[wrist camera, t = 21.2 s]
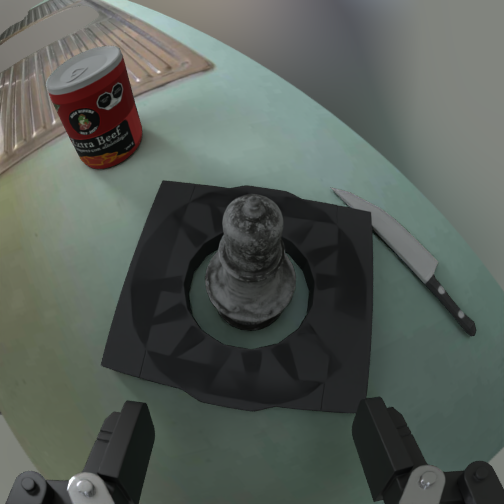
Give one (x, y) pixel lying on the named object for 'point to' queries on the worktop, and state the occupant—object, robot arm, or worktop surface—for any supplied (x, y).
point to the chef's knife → (408, 253)
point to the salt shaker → (251, 265)
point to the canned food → (97, 106)
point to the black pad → (235, 358)
